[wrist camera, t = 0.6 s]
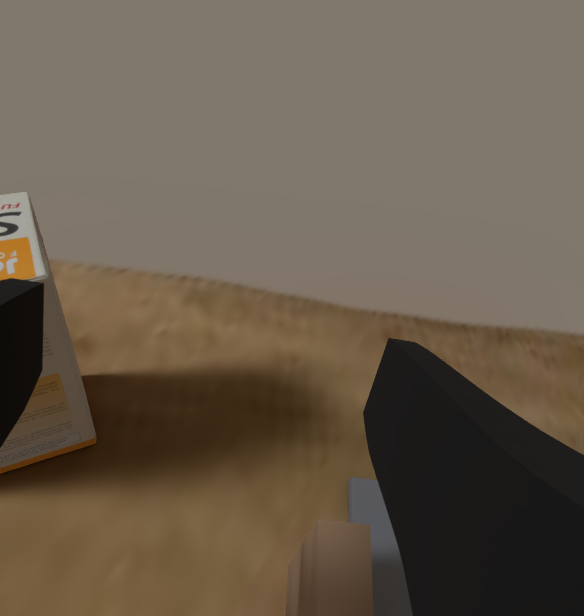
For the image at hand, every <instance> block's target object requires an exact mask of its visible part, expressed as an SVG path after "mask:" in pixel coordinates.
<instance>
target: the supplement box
mask: <svg viewBox="0 0 584 616" xmlns="http://www.w3.org/2000/svg"><path fill="white" fill-rule="evenodd" d="M9 278H14V279H21V280H27V281H33V282H39V283H44V315H43V367H42V372H41V375H40V377H39V379H38V381H37V384H36V386H35V388H34V391H33V393H32V395H31V397H30V399H29V401H28V404H27V406H26V408H25V410H24V412H23V413H22V415H21V416H20V418H19V420H18V421H17V423H16V424H15V426H14V428H13V429H12V431H11V432H10V434H9V435H8V437H7V439H6V440H5V442H4V443H3V445H2V446H1V448H0V474H1V473H4V472H7V471H10V470H13V469H17V468H20V467H23V466H26V465H29V464H32V463H35V462H38V461H41V460H45V459H48V458H51V457H54V456H57V455H61V454H64V453H67V452H70V451H74V450H77V449H81V448H84V447H86V446H90V445H93V444H95V443H96V433H95V429H94V425H93V421H92V417H91V414H90V409H89V405H88V401H87V397H86V393H85V389H84V386H83V382H82V378H81V373H80V370H79V366H78V363H77V359H76V356H75V352H74V349H73V345H72V342H71V338H70V335H69V331H68V328H67V325H66V321H65V318H64V314H63V311H62V307H61V303H60V300H59V296H58V293H57V289H56V286H55V282H54V279H53V275H52V272H51V268H50V264H49V261H48V257H47V254H46V250H45V247H44V243H43V239H42V236H41V233H40V230H39V226H38V223H37V220H36V216H35V213H34V210H33V206H32V203H31V200H30V197H29V194H28V192H20V193H13V194H4V195H0V281H1V280H5V279H9Z"/></svg>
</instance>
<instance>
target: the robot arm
mask: <svg viewBox="0 0 584 616" xmlns="http://www.w3.org/2000/svg"><path fill="white" fill-rule="evenodd" d="M43 315H44V283H39V282H33V281H27V280H21V279H14V278H9V279H5V280H1V281H0V448H1V446H2V445H3V443H4V442H5V440H6V439H7V437H8V435H9V434H10V432H11V431H12V429H13V428H14V426H15V424H16V423H17V421H18V420H19V418H20V416H21V415H22V413H23V412H24V410H25V408H26V406H27V404H28V401H29V399H30V397H31V395H32V393H33V391H34V388H35V386H36V384H37V381H38V379H39V377H40V375H41V372H42V367H43ZM363 416H364V423H365V430H366V437H367V443H368V449H369V454H370V457H371V461H372V464H373V467H374V470H375V474H376V477H377V480H378V484H379V487H380V490H381V493H382V496H383V500H384V503H385V506H386V509H387V512H388V515H389V519H390V522H391V525H392V528H393V531H394V535H395V538H396V541H397V544H398V548H399V552H400V556H401V559H402V563H403V568H404V573H405V578H406V583H407V588H408V593H409V598H410V603H411V608H412V614H413V616H584V455H582V454H581V453H579V452H577V451H575V450H573V449H572V448H570V447H568V446H566V445H565V444H563V443H561V442H560V441H558V440H556V439H554V438H553V437H551V436H549V435H548V434H546V433H544V432H543V431H541V430H539V429H538V428H536V427H535V426H533V425H531V424H530V423H528V422H527V421H525V420H524V419H522V418H521V417H519V416H518V415H516V414H515V413H513V412H512V411H511V410H509V409H508V408H506V407H505V406H503V405H502V404H500V403H499V402H498V401H496V400H495V399H493V398H492V397H491V396H489V395H488V394H486V393H485V392H484V391H482V390H481V389H480V388H478V387H477V386H476V385H474V384H473V383H472V382H470V381H469V380H468V379H466V378H465V377H464V376H462V375H461V374H460V373H458V372H457V371H456V370H454V369H453V368H452V367H451V366H449V365H448V364H447V363H445V362H444V361H443V360H441V359H440V358H439V357H437V356H436V355H434V354H433V353H432V352H430V351H429V350H427V349H426V348H424V347H422V346H421V345H419V344H417V343H415V342H410V341H404V340H398V339H391V338H389V339H388V342H387V344H386V347H385V350H384V353H383V356H382V359H381V362H380V365H379V368H378V371H377V374H376V377H375V379H374V382H373V385H372V388H371V391H370V394H369V397H368V400H367V403H366V406H365V409H364V412H363Z"/></svg>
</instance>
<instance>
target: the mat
mask: <svg viewBox="0 0 584 616" xmlns="http://www.w3.org/2000/svg"><path fill="white" fill-rule="evenodd" d="M348 485H349V523H358V524H367V525H370V537H371V562H372V587H373V612H374V616H413V614H412V608H411V603H410V598H409V593H408V588H407V583H406V578H405V573H404V568H403V563H402V559H401V556H400V552H399V548H398V544H397V541H396V538H395V535H394V531H393V528H392V525H391V522H390V519H389V515H388V512H387V509H386V506H385V503H384V500H383V496H382V493H381V490H380V487H379V484H378V480H371V479H363V478H354V477H351V478H350V480H349V481H348Z"/></svg>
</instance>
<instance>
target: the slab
mask: <svg viewBox="0 0 584 616" xmlns="http://www.w3.org/2000/svg"><path fill="white" fill-rule="evenodd" d="M286 616H374V612H373V587H372V562H371V537H370V525H367V524H358V523H349V522H340V521H332V520H323V519H318V520H317V522H316V524H315V525H314V527H313V528H312V530H311V531H310V533H309V535H308V536H307V538H306V539H305V541H304V543H303V544H302V546H301V547H300V549H299V550H298V552H297V554H296V555H295V557H294V558H293V560H292V561H291V563H290V565H289V566H288V583H287V601H286Z"/></svg>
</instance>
